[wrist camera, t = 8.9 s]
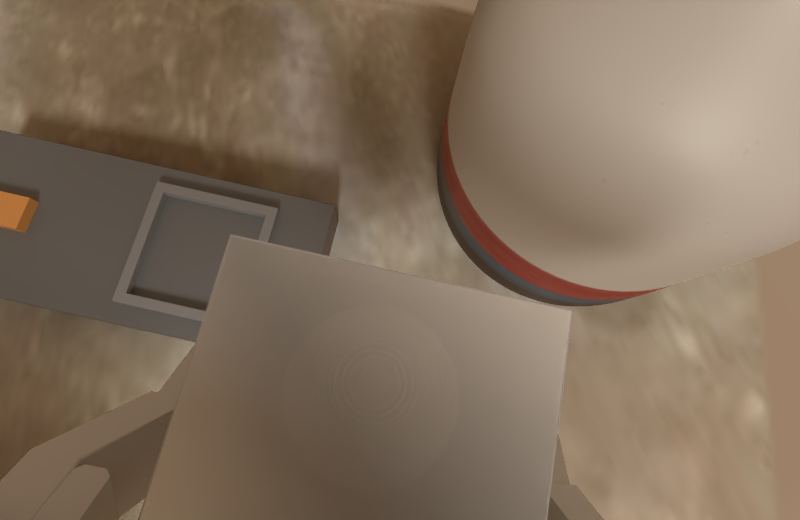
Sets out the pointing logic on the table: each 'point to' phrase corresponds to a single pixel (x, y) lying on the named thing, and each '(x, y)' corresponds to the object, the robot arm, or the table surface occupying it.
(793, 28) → the vase
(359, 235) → the table surface
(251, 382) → the block
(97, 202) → the power strip
